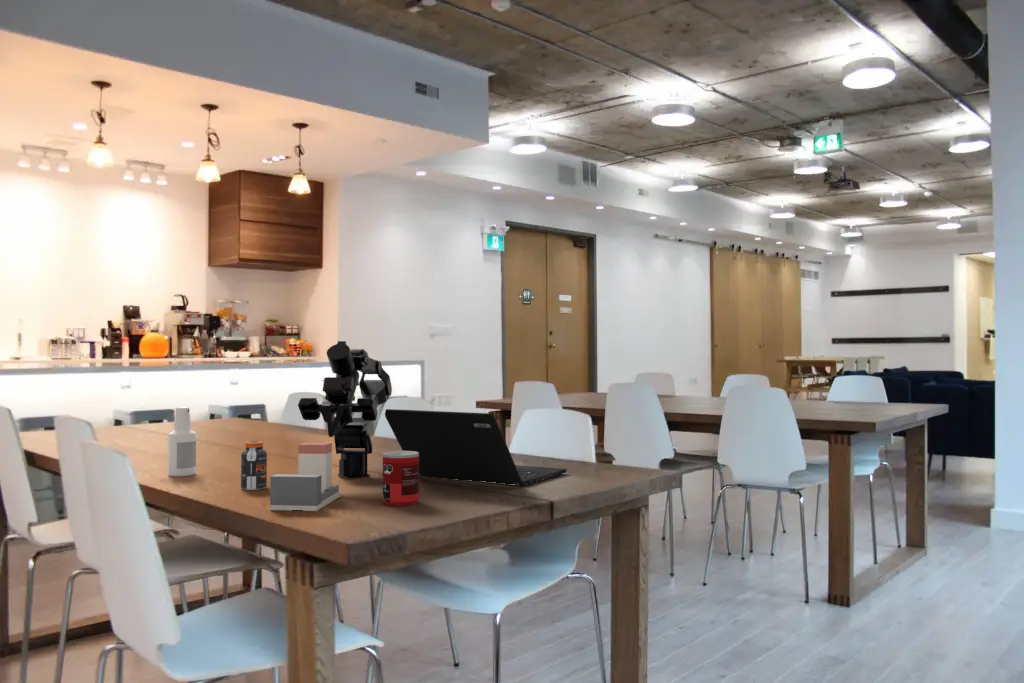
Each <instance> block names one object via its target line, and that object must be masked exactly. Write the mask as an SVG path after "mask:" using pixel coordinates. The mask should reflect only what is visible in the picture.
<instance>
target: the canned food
mask: <svg viewBox="0 0 1024 683" xmlns="http://www.w3.org/2000/svg"><path fill="white" fill-rule="evenodd" d="M419 500H420V476H419V453H418V452H415V451H403V450H390V451H389V450H388V451H385V452H383V453H382V501H383V504H384V505H385V506H391V507H409V505H410V506H413V505H414V506H415V505H417V504H418V503H419Z"/></svg>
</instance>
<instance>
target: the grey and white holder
mask: <svg viewBox="0 0 1024 683" xmlns="http://www.w3.org/2000/svg"><path fill="white" fill-rule="evenodd" d="M269 482H270V483H269V484H270V486H269V490H270V491H269V492H270V493H269V494H270V495H269V497H270V498H269V499H270V500H269V503H270V504H269V511H292V510H303V511H302V512H304V511H305V512H306V511H307V512H309V511H310V512H317V511H318V510H320V509H322V508H324V507H325V506H327V505H329V504H330V503H332V502H334V501H336V500H337V499H338V498H340V497H342V495H343V493H342V492H343V491H342V490H341V491H340V490H339V489H340V487H339V486H340V485H339V484H335V485H332V487H331V488H329V489H327V490H324V491H323V492H321V475H298V474H293V473H291V474H290V473H289V474H288V473H286V474H285V473H284V474H282V473H281V474H279V473H276V474H273V475H270V480H269Z"/></svg>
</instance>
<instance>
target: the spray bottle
mask: <svg viewBox="0 0 1024 683" xmlns="http://www.w3.org/2000/svg"><path fill="white" fill-rule="evenodd" d="M173 424H174V426H173V430H172V431H171V432H169V433H168V466H167V467H168V473H167V474H168V475H169V476H170V477H177V478H179V477H190V476H194V475H196V474H197V433H196V432H195V430H192V429H191V427H192V426H191V425H192V424H191V415H190V407H189V406H180V407H175V413H174V423H173Z"/></svg>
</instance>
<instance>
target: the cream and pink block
mask: <svg viewBox="0 0 1024 683" xmlns="http://www.w3.org/2000/svg"><path fill="white" fill-rule="evenodd" d="M297 449H298V450H297V452H298V453H297V454H298V456H297V457H298V460H297V461H298V463H297V464H298V466H297V467H298V468H297V469H298V470H297V472H298V474H297V475H321V492H323V491H324V490H327V489H329V488H331V487H332V486H333V442H302V443H299V444H298V448H297Z"/></svg>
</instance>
